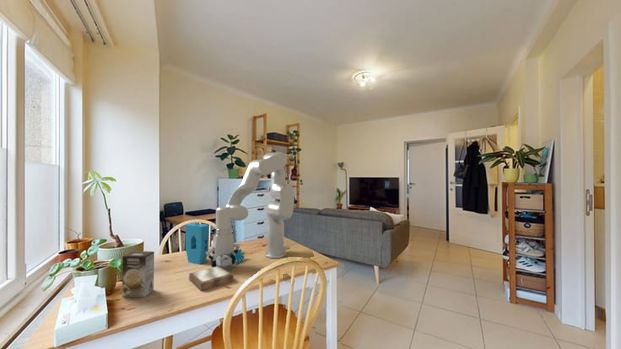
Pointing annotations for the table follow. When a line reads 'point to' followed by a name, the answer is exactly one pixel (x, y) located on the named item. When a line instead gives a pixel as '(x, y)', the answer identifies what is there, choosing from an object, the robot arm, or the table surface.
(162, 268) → the table surface
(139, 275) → the coffee box
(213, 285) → the stand
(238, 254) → the gear
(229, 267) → the block
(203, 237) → the block
